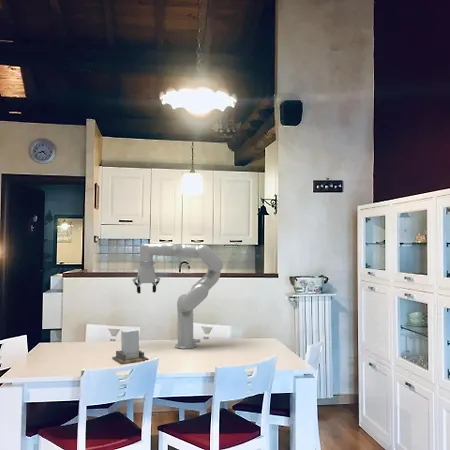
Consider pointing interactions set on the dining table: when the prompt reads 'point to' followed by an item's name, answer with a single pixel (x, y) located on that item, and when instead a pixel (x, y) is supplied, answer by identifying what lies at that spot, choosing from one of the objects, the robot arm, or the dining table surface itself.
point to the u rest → (122, 359)
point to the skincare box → (130, 343)
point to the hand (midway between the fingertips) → (146, 292)
